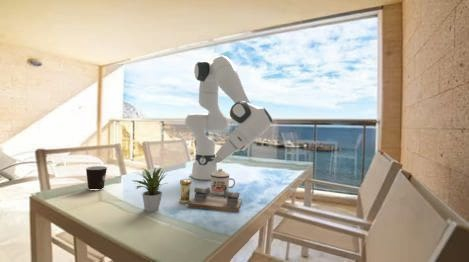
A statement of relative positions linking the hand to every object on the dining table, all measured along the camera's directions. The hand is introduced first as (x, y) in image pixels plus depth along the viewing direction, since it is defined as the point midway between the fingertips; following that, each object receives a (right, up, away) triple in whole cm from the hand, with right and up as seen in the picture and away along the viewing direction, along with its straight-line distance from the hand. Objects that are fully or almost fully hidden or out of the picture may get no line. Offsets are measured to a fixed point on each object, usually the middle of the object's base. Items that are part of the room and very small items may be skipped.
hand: (215, 162), depth 104 cm
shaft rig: (0, -17, 0) cm, 17 cm away
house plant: (-24, -17, -7) cm, 30 cm away
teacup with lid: (+2, -17, +18) cm, 25 cm away
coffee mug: (-57, -14, +16) cm, 61 cm away
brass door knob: (-13, -17, +2) cm, 21 cm away
